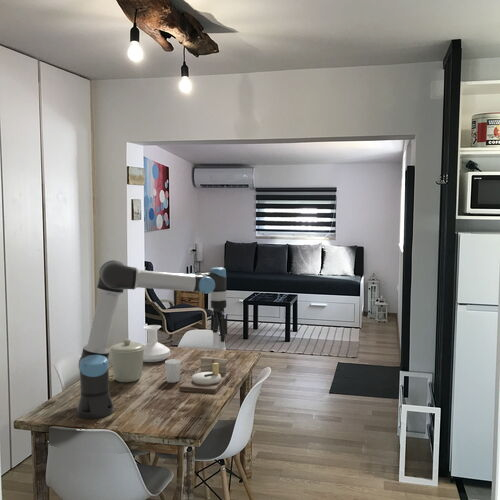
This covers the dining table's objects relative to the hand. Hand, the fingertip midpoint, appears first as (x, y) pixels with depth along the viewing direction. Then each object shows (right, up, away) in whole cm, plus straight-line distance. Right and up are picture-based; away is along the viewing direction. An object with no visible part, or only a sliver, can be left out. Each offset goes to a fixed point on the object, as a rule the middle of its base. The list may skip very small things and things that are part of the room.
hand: (219, 346), depth 255 cm
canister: (-48, -19, +14) cm, 53 cm away
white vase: (-41, -17, +50) cm, 67 cm away
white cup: (-24, -19, +11) cm, 33 cm away
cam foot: (-6, -17, +4) cm, 19 cm away
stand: (-7, -19, +7) cm, 22 cm away
